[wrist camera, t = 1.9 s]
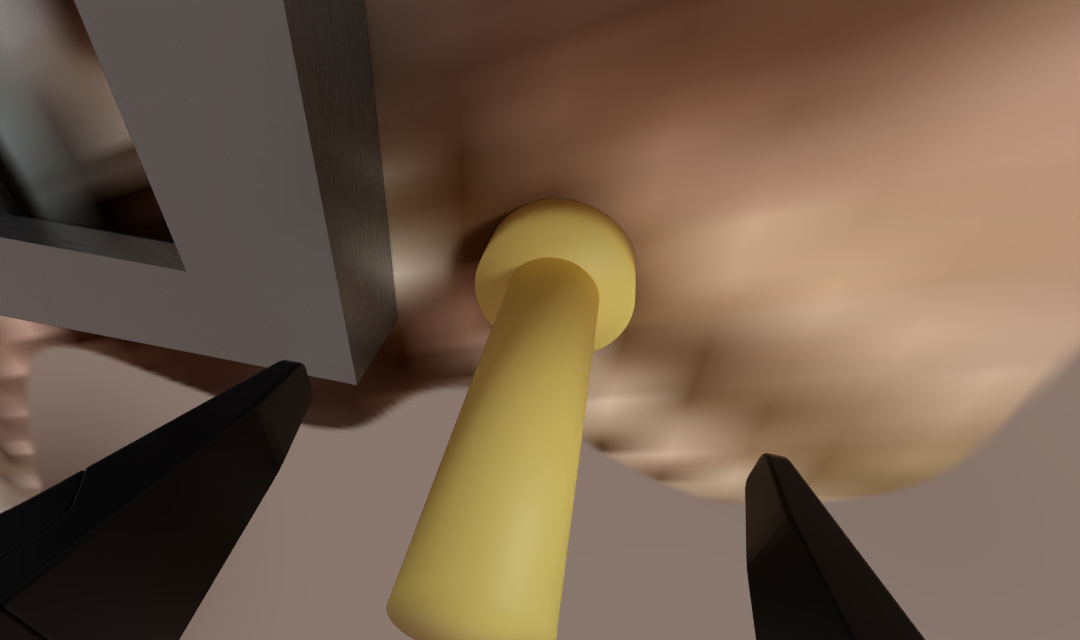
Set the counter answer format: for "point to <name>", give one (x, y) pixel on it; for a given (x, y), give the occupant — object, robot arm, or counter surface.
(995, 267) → the counter surface
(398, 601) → the headed peg
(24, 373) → the counter surface
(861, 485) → the counter surface
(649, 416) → the counter surface
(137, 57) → the keyhole plate
